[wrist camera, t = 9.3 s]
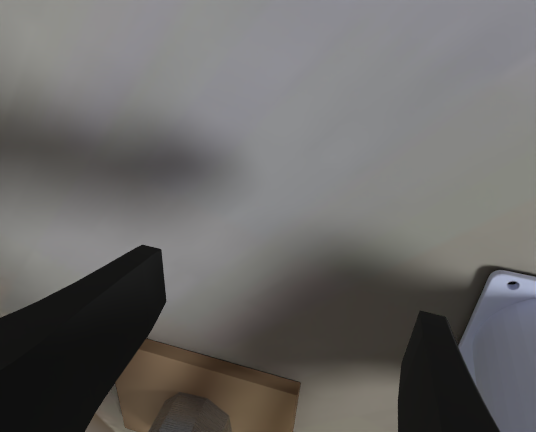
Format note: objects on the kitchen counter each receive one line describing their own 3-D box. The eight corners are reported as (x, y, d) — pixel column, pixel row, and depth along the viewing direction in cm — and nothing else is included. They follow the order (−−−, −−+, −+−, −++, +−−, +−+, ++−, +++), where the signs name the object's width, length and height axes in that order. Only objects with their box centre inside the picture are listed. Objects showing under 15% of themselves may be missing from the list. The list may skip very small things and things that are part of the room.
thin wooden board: (300, 382, 29) (283, 446, 25) (287, 468, 35) (271, 529, 32) (113, 329, 32) (74, 379, 28) (131, 416, 38) (100, 467, 34)
